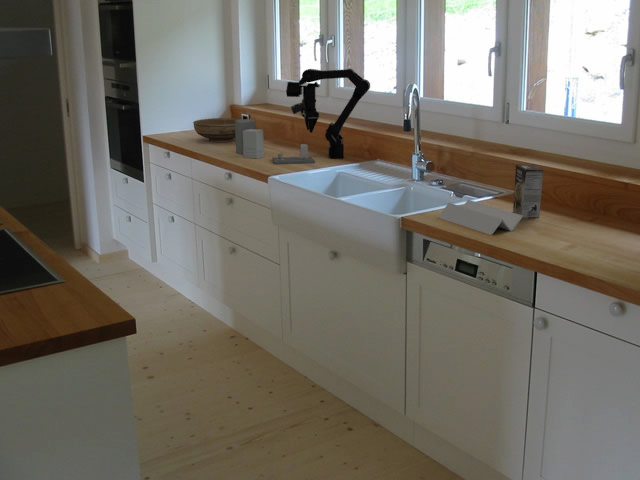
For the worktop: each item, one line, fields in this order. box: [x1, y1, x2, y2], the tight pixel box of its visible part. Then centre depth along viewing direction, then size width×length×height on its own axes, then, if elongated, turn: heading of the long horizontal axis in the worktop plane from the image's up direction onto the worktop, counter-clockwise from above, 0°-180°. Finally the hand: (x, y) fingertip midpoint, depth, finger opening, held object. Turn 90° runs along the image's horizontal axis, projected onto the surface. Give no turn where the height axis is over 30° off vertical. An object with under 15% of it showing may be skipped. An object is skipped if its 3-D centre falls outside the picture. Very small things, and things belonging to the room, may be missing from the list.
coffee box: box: [512, 163, 544, 219], centre depth 259 cm, size 9×6×16 cm
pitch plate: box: [271, 153, 316, 165], centre depth 356 cm, size 18×12×4 cm, turn 98°
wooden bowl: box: [192, 117, 245, 143], centre depth 414 cm, size 37×29×10 cm
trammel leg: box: [299, 143, 309, 159], centre depth 355 cm, size 3×3×6 cm
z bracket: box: [437, 199, 523, 236], centre depth 250 cm, size 12×25×6 cm
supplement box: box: [243, 128, 265, 159], centre depth 365 cm, size 7×7×13 cm
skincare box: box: [235, 118, 257, 155], centre depth 376 cm, size 8×7×16 cm
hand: (309, 131), depth 364 cm, fingers open, 9 cm apart
